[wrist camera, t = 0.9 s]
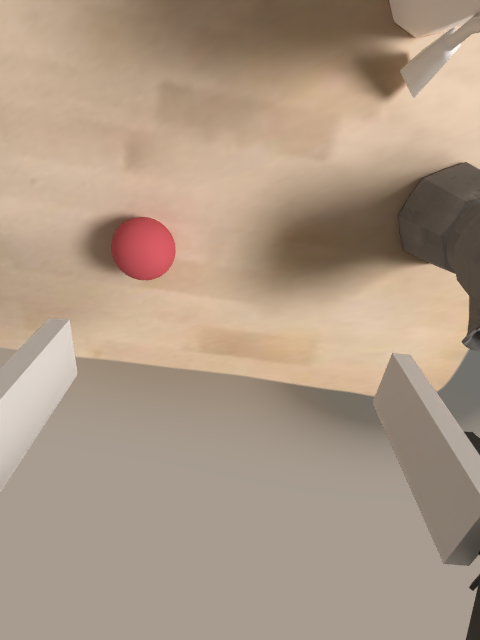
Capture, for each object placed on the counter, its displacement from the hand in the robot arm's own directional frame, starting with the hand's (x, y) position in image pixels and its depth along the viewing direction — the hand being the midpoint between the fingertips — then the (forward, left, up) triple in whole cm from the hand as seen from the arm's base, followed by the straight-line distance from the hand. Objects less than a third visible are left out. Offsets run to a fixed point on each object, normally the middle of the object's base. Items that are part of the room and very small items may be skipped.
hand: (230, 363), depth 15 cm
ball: (-7, -4, -19) cm, 20 cm away
